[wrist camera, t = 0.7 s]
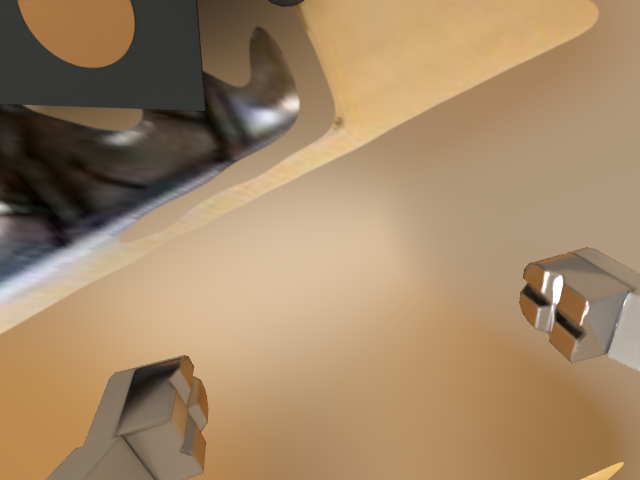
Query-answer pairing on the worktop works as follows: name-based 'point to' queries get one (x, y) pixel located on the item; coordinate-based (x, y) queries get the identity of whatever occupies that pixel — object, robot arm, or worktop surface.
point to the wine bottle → (285, 2)
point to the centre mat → (101, 54)
